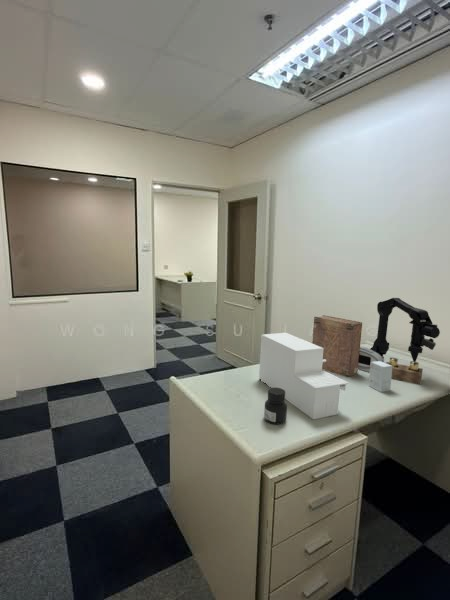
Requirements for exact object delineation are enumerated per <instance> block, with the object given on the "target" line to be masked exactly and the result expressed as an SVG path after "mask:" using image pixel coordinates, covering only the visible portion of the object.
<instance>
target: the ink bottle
mask: <svg viewBox="0 0 450 600" xmlns="http://www.w3.org/2000/svg"><path fill="white" fill-rule="evenodd" d="M285 400H286V399H285V391H284V390H283V389H281V388H270V387H269V388H268V390H267V399H266V401H265V402H264V411H263V413H264V414H263V416H264V417H263V418H264V420H265V421H266V422H267V423H268V424H271V425H282V424H285V423H286V422H287V417H288V416H287V414H288V413H287V412H288V404H287V403H286V402H285Z"/></svg>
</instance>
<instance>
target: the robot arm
mask: <svg viewBox="0 0 450 600" xmlns="http://www.w3.org/2000/svg"><path fill="white" fill-rule="evenodd" d="M376 306H377V307H376V310H377V313H378V316H379V318H378V328H377V335H376V339H375V340H374V342H373V344H372V347H371V348H369V349H371V350H373V351H374V352H376V353H378V354H379V355H380V356H381V357H382V358H383V359H384V360H385V357H384V355H385V356H386V354H387V352H388V351H389V349H390V342H388V341H387V333H388V326H389V325H388V324H389V318H390V315H391V314H392V313H393V309H395V308H398V309H399V310H401V311H403V312H404V313H406V314H408V316H409V318H410V319H412V320H410V321H409V324H411V325H412V326H411V327H412V329H411V335H410V342H409V343H410V345H408V347H407V348H408V349H407V351H408V352H409V353H410V355H411V358H412V361H414V362H417V359H418V356H419V354H423V350H424V348H423V347H425V348H428V349H429V350H432V351H433V350H434V348H435V347H436V345H437V343H436V342H435V341H434V339H436V338H438V337H439V336H440V334H441V330H440V329H439V327H438V324H434V323H433V322H432V320H431V317H430V314H429V312H428V311H427V310H426V309H423V308H417V307H414V306H413V305H411V304H409V303H407V302H405V301H404V300H403V299H401V298H400V297H392V298H389V299H386V300H383V301H379V302H378V303H377V305H376ZM425 336H426V337H429V339H428V338H425Z"/></svg>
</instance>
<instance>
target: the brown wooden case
mask: <svg viewBox="0 0 450 600" xmlns="http://www.w3.org/2000/svg"><path fill="white" fill-rule="evenodd" d="M312 328H313V329H312V331H313V333H312V342H311V343H312V344H315V345H317V346H319V347H322V348H324V349H323V360H324V359H326V360H327V361H326V362H323V363H322V370H326V371H330V372H332V373H334V374H338V375H341V376H344V377H347V378H350V377H353V376H355V375H358V370H359V369H358V362H359V352H360V347H361V341H362V340H361V339H362V331H363V330H362V329H363V322H361V321H356V320H350V319H346V318H340V317H335V316H331V315H322V316H314V317H313V327H312Z"/></svg>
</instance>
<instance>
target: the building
mask: <svg viewBox="0 0 450 600" xmlns="http://www.w3.org/2000/svg"><path fill="white" fill-rule="evenodd" d="M260 338H261V339H260V350H259V351H260V354H259V369H258V370H259V372H258V373H259V374H258V375H259V376H258V380H259V379H261V380H262V381H263V382H264V383H266V384H267V385H268V386H269V388H270V387H271V388H281V389H283V390H284V391H285V400H286V401H288V402H289V403H290V404H292V405H293V406H294V407H296V408H297V409H298V410H299V411H301V412H303V413H304V414H305V415H306V416H308V417H309V418H311V419H312V420H318V419H322V418H326V417H327V418H328V417H331V416H336V415H338V412H339V405H340V404H339V403H340V393H341V392H340V390H342V391H344V392H346V388H347V386H346V385H348V384H350V382H348V381H346V380H344V379H342V378H340V377H338V376H336V375H334V374H332V373H330V372H328V371H327V370H326V371H325V370H323V368H322V363H323V362H326V361H327V360H326V359H324V360H323V349H324V348H322V347H319V346H317V345H315V344H312V342H310V341H307V340H306V339H302V338H300V337H297V336H295V335H293V334H290V333H288V332H277V333H265V334H261V337H260ZM262 381H261V382H262ZM263 382H262V383H263ZM264 383H263V384H264ZM266 384H265V385H266ZM267 385H266V386H267ZM268 386H267V387H268Z"/></svg>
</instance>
